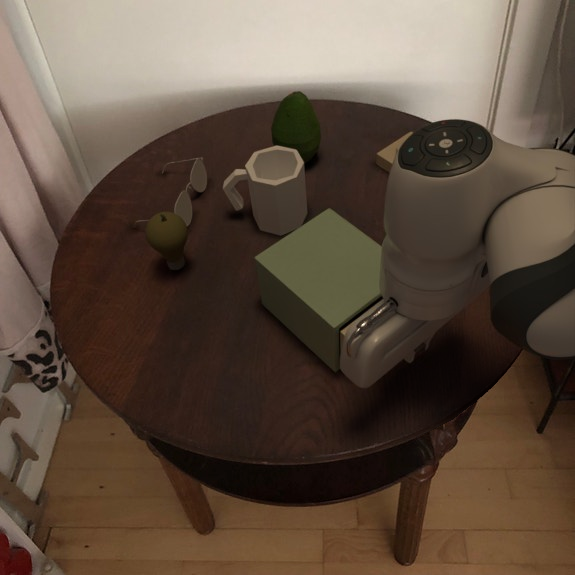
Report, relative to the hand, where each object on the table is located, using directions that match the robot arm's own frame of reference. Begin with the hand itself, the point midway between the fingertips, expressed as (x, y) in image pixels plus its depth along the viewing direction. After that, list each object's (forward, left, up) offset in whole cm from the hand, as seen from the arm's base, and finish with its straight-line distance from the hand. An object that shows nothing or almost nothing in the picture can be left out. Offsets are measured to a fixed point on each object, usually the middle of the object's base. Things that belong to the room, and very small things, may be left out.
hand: (413, 352), depth 71 cm
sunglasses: (+47, +4, -6) cm, 47 cm away
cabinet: (+14, 0, -6) cm, 15 cm away
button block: (+26, -29, -6) cm, 39 cm away
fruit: (+41, -17, -6) cm, 45 cm away
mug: (+34, -5, -6) cm, 35 cm away
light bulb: (+35, +11, -6) cm, 37 cm away
